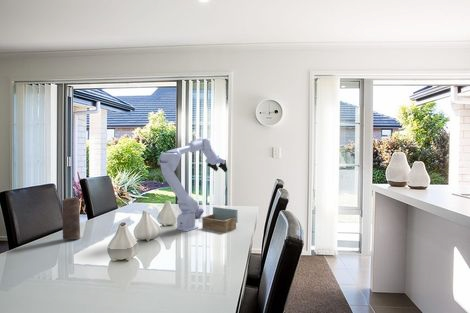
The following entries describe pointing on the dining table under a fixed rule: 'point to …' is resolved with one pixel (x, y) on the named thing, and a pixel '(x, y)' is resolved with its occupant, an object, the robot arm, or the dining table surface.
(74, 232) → the candle
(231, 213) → the light blue panel
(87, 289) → the dining table surface
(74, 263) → the dining table surface
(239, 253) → the dining table surface
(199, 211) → the flower
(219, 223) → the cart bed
